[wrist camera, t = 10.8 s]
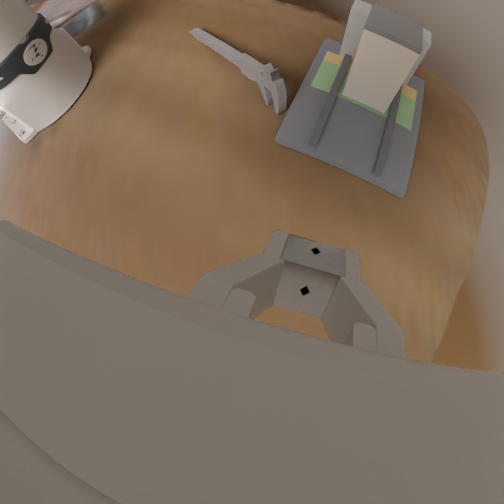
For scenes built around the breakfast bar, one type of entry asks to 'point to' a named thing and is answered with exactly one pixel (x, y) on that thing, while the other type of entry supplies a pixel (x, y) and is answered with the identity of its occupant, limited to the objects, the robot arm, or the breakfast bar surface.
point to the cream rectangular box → (383, 57)
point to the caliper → (250, 70)
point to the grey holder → (355, 115)
